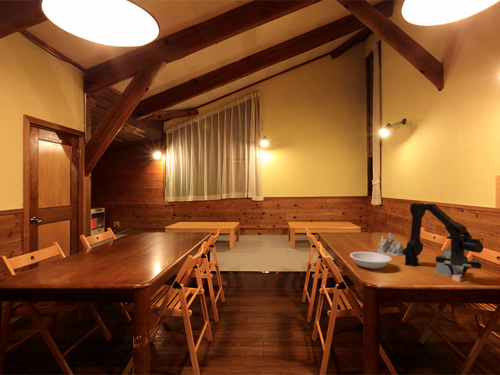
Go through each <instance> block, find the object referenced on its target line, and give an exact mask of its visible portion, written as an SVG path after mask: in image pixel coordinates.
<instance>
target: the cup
mask: <svg viewBox="0 0 500 375" xmlns="http://www.w3.org/2000/svg"><path fill="white" fill-rule="evenodd" d="M450 255H451V248H443V249H442V256H446V258H450ZM444 262H445V261H444Z"/></svg>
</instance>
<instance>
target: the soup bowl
mask: <svg viewBox="0 0 500 375" xmlns="http://www.w3.org/2000/svg"><path fill="white" fill-rule="evenodd" d="M349 258H352V259H353V261H354V262H355V263H356V264H357V265H358V266H360V267H362V268H367V269H376V270H377V269H382V268H384V267H386V266H387V265H388V264H389V263H390V262H392V261H393V258H392V257H391V255H387V254H381V253H378V252H374V251H355V252H351V253H350V254H349Z"/></svg>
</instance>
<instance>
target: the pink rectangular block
mask: <svg viewBox="0 0 500 375" xmlns="http://www.w3.org/2000/svg"><path fill="white" fill-rule="evenodd" d="M463 280H464V278H463V279H462V275H461V274H457V273H456V274H454V275H453V276H452V281H455V282H456V281H457V282H462V281H463Z"/></svg>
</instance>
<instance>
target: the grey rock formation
mask: <svg viewBox="0 0 500 375" xmlns="http://www.w3.org/2000/svg"><path fill="white" fill-rule="evenodd" d="M404 249H405V247H404V246H403V244H402V242H401V241H396V239H395V236H394V235H393V234H392V232H388V235H387V237H386V238H385V235H381V238H380V241H379V242H378V244H377V249H376V253H380V254H385V255H388V256H394V257H395V256H396V257H402V256H404V257H405V255H404V254H403V252H402V251H403V250H404Z"/></svg>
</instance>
